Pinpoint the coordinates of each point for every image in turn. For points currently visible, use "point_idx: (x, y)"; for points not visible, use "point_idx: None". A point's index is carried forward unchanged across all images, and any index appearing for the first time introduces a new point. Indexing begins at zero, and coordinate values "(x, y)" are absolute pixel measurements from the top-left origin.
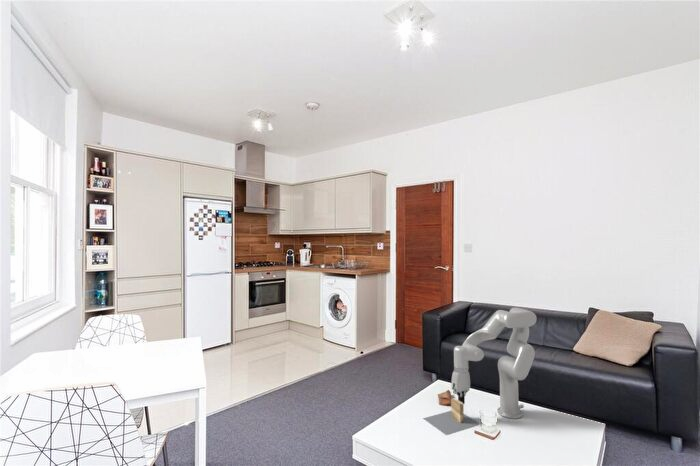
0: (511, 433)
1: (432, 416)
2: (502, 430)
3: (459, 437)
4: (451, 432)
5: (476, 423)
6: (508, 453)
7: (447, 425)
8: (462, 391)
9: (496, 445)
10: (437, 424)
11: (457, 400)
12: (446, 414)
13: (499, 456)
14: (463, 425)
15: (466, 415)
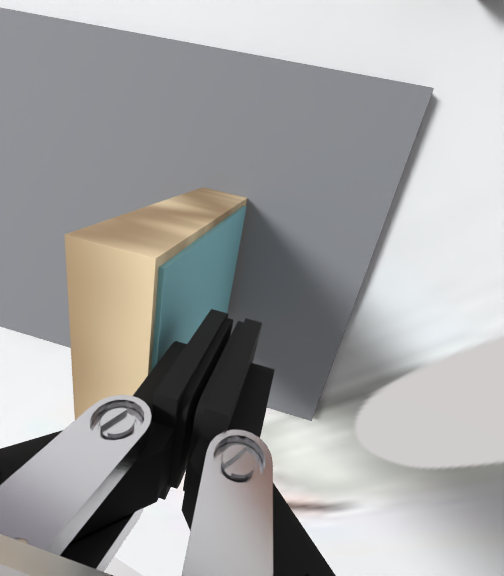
0: (362, 553)
1: (44, 33)
2: (357, 516)
3: (63, 375)
4: (38, 328)
5: (290, 391)
6: (169, 561)
7: None
8: (240, 558)
9: (178, 521)
10: (5, 190)
11: (129, 357)
12: (209, 107)
13: None
14: None
15: (363, 269)
